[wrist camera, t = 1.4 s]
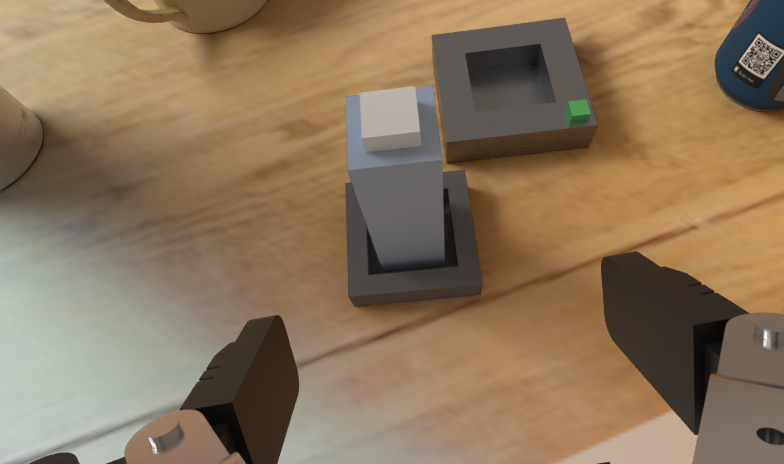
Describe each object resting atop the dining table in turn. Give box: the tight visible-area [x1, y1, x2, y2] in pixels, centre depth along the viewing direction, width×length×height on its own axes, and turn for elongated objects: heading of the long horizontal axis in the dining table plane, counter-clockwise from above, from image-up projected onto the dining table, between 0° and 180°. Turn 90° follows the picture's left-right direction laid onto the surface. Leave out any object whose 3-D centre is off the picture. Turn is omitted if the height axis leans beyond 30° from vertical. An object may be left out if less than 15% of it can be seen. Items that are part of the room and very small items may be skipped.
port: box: [432, 18, 598, 163], centre depth 35 cm, size 10×10×3 cm
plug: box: [345, 86, 445, 271], centre depth 26 cm, size 4×4×13 cm
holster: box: [346, 170, 482, 306], centre depth 31 cm, size 8×8×2 cm
